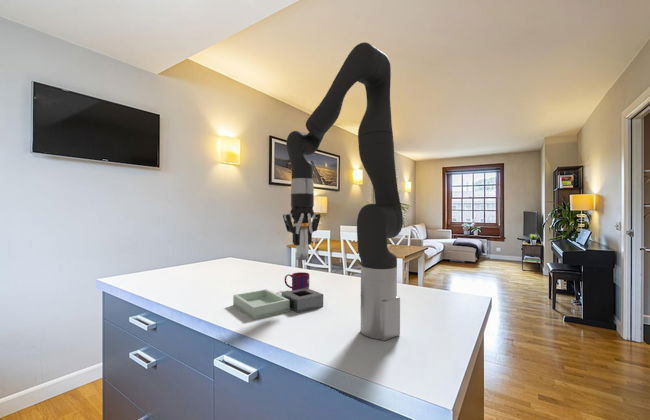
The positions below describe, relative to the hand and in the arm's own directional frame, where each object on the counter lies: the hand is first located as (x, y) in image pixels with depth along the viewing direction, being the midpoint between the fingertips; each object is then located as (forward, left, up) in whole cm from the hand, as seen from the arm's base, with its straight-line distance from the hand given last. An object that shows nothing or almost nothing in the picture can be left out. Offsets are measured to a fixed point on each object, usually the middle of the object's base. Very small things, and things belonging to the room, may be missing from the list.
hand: (302, 244), depth 99 cm
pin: (0, 0, -5) cm, 5 cm away
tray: (+6, +12, -20) cm, 24 cm away
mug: (+16, -8, -20) cm, 27 cm away
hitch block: (0, 0, -20) cm, 20 cm away
